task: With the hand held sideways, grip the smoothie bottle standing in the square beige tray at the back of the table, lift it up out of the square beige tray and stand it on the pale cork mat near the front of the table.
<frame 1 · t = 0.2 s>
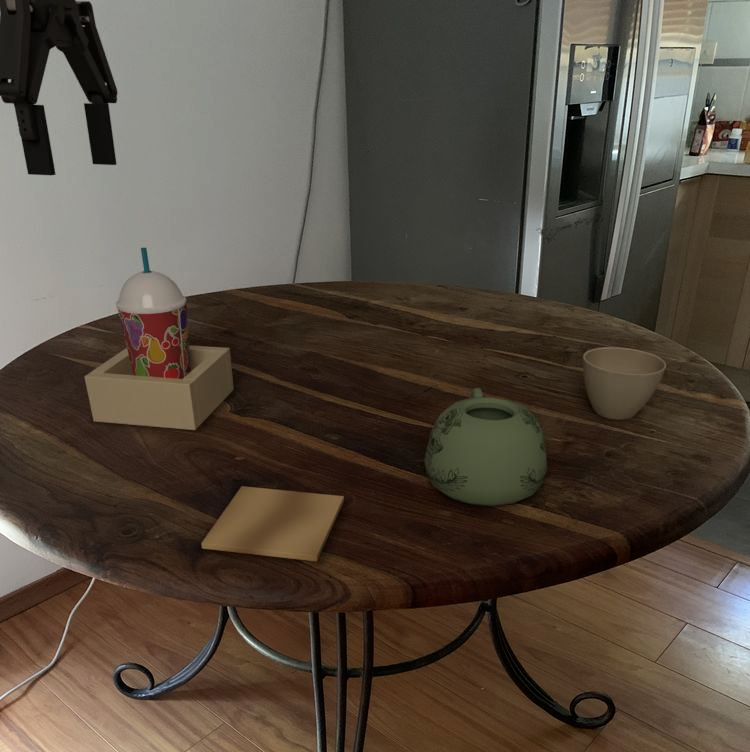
hand: (75, 169, 83), 28 cm above the table, tool pointing down, fingers open, 13 cm apart
cork mat: (276, 523, 72), on the table
smoothie: (167, 406, 97), resting in square beige tray
square beige tray: (167, 404, 97), on the table
green rounded ceramic pot: (480, 478, 80), on the table
flower pot: (614, 413, 96), on the table
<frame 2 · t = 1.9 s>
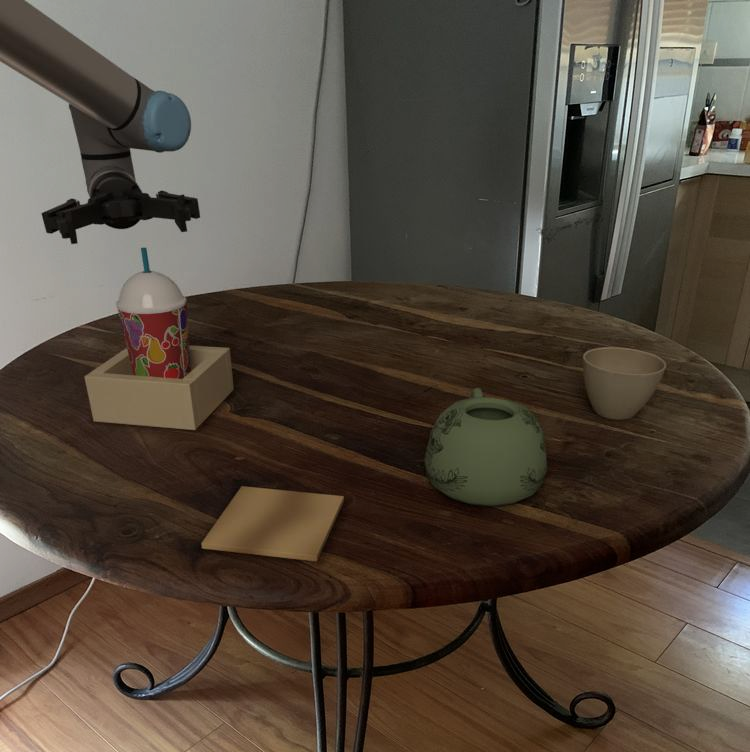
hand: (128, 226, 93), 21 cm above the table, tool horizontal, fingers open, 13 cm apart
nothing on the table moved.
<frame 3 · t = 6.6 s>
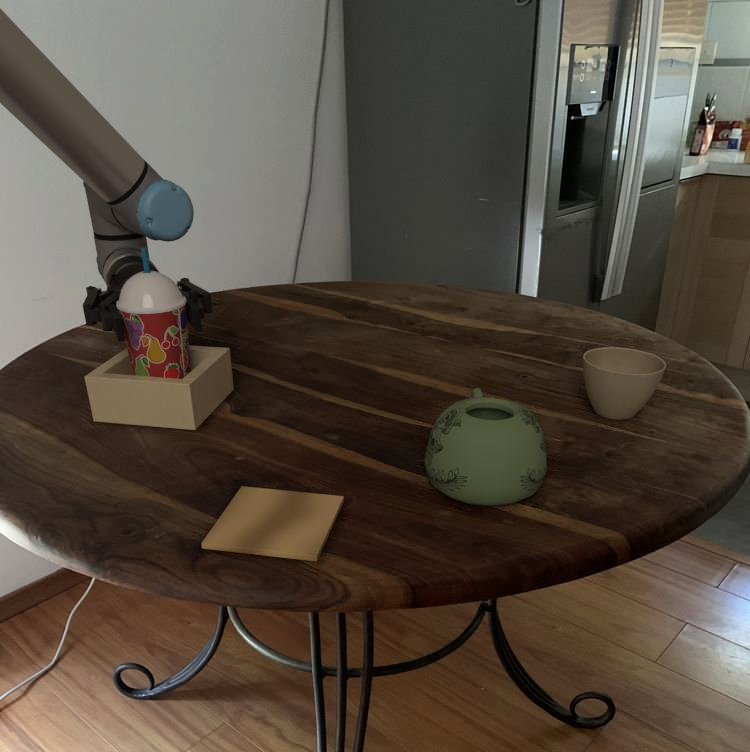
hand: (159, 325, 87), 12 cm above the table, tool horizontal, fingers closed on smoothie, 8 cm apart
smoothie: (167, 406, 97), resting in square beige tray, touching gripper
everything else where it was.
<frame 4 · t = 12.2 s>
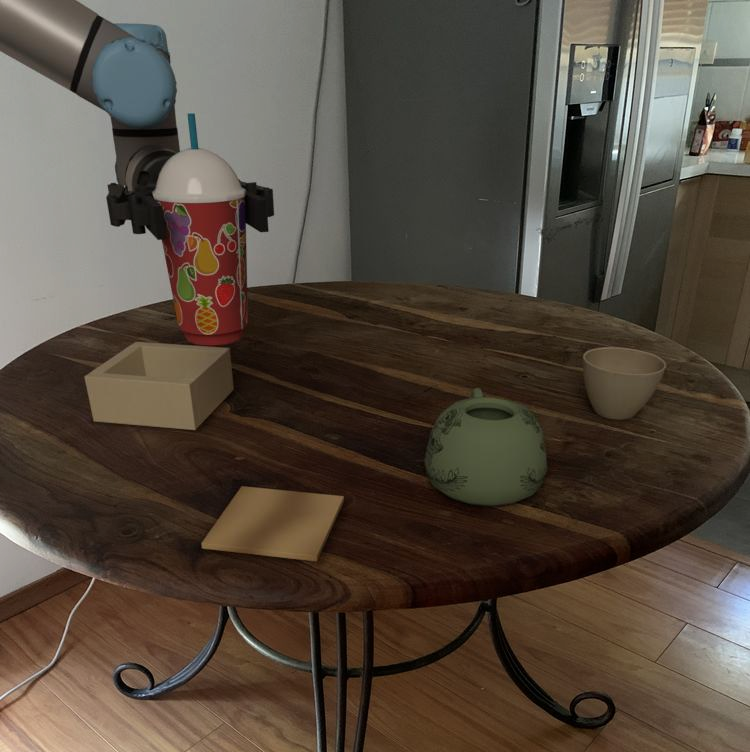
hand: (213, 219, 64), 27 cm above the table, tool horizontal, fingers closed on smoothie, 8 cm apart
smoothie: (215, 339, 74), point 15 cm above the table, touching gripper
everything else where it was.
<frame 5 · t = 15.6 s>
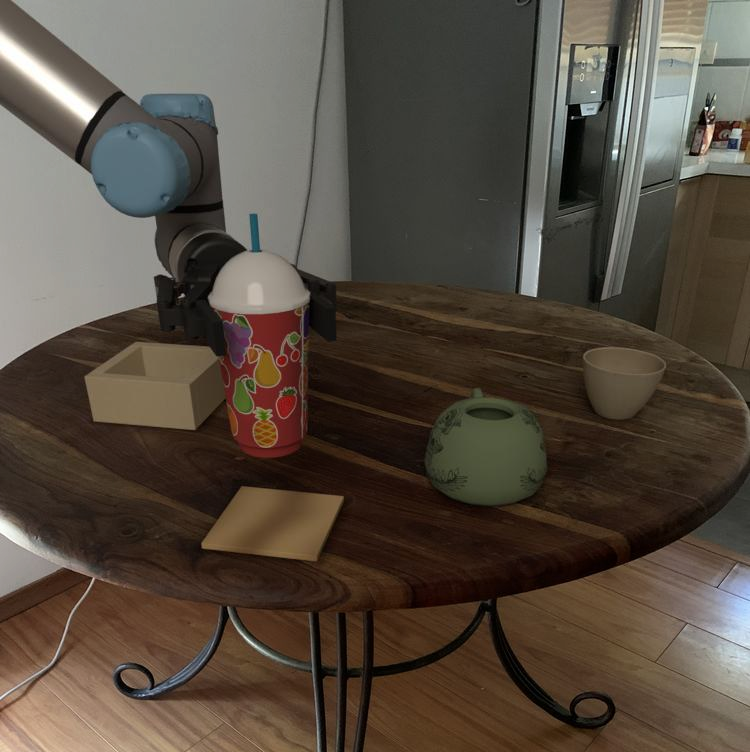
hand: (277, 331, 58), 21 cm above the table, tool horizontal, fingers closed on smoothie, 8 cm apart
smoothie: (271, 446, 67), point 8 cm above the table, touching gripper
everything else where it was.
when the fingers open (13 cm above the table, at t = 18.2 s): smoothie stays where it is, resting on cork mat.
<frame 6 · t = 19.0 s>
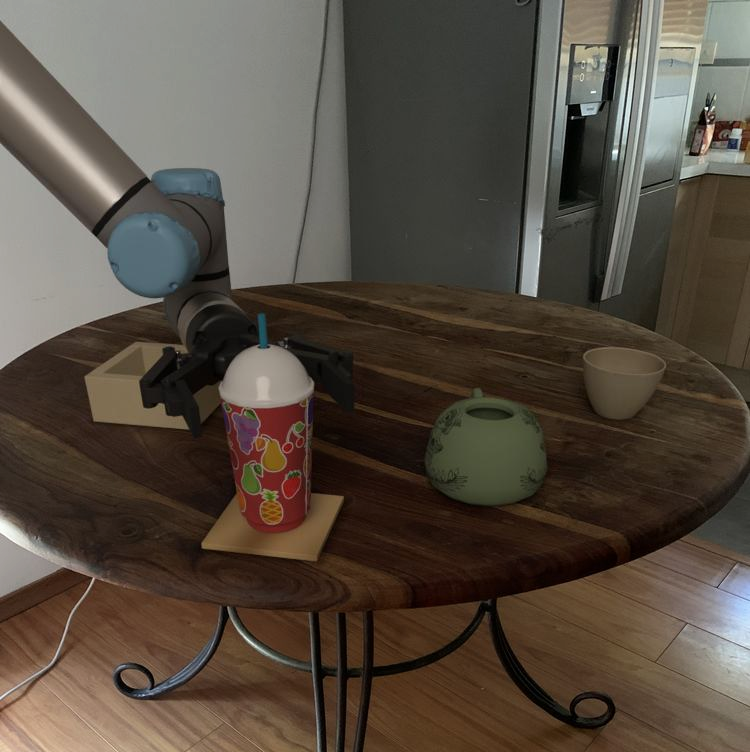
hand: (276, 410, 62), 13 cm above the table, tool horizontal, fingers open, 13 cm apart
smoothie: (276, 520, 71), resting on cork mat
everything else where it was.
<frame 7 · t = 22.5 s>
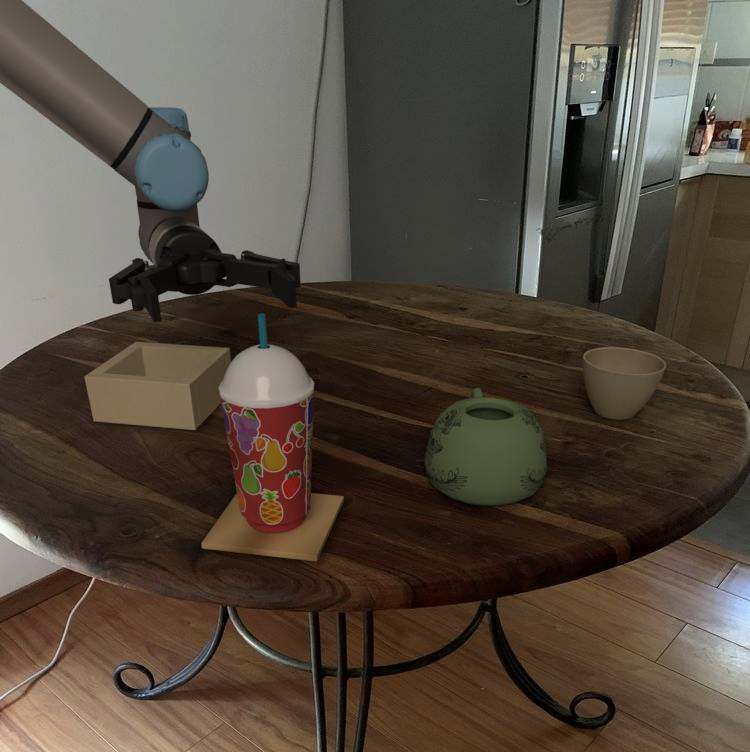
hand: (226, 301, 72), 19 cm above the table, tool horizontal, fingers open, 13 cm apart
nothing on the table moved.
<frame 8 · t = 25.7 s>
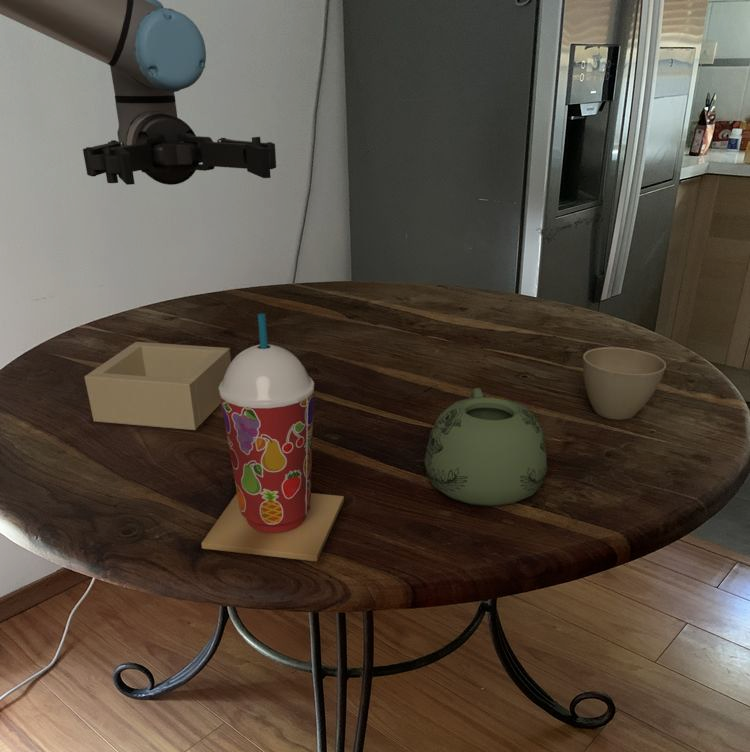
hand: (199, 166, 72), 30 cm above the table, tool horizontal, fingers open, 13 cm apart
nothing on the table moved.
at the end: smoothie inside the target area on the cork mat (0.0 cm from its centre), point 0.4 cm above the cork mat's base; smoothie tilted 0°; the gripper is holding nothing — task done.
